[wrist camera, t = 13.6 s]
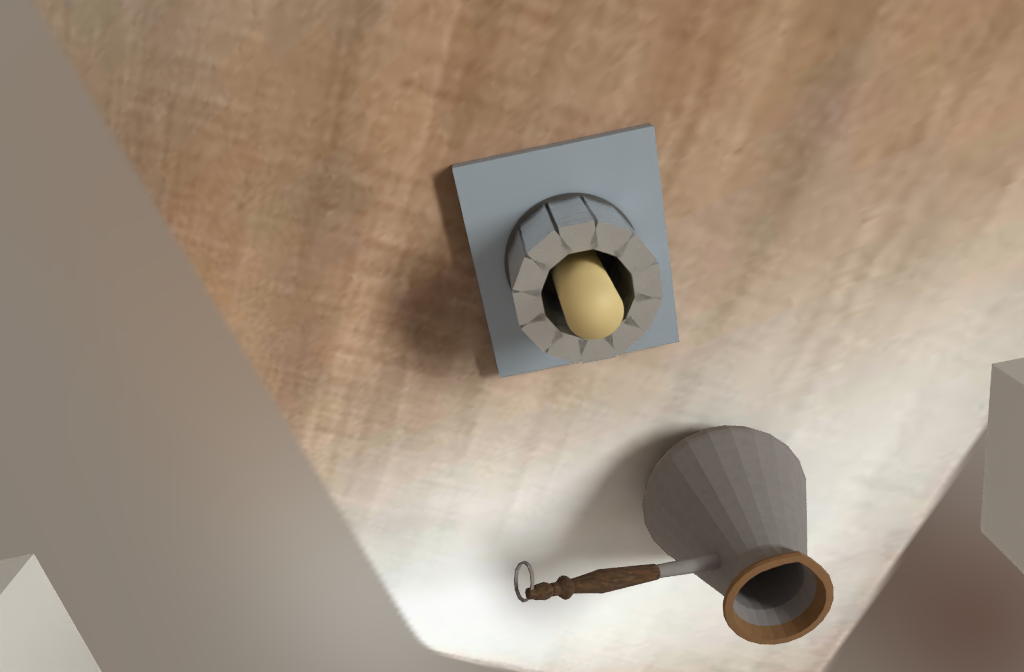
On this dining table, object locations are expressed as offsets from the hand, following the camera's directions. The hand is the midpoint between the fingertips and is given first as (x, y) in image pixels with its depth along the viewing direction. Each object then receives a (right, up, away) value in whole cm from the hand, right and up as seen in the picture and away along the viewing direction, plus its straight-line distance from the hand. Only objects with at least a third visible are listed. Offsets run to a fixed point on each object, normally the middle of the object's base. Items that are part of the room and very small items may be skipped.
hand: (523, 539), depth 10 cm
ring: (+4, +7, +35) cm, 36 cm away
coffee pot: (+10, -7, +44) cm, 45 cm away
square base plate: (+3, +8, +37) cm, 38 cm away
